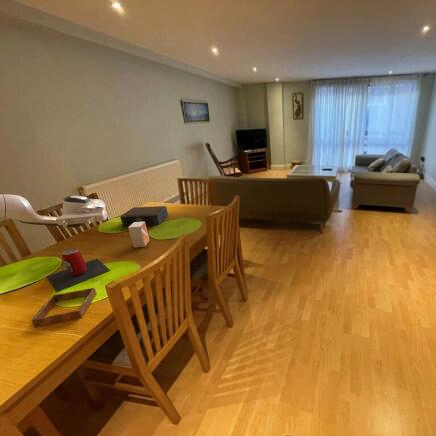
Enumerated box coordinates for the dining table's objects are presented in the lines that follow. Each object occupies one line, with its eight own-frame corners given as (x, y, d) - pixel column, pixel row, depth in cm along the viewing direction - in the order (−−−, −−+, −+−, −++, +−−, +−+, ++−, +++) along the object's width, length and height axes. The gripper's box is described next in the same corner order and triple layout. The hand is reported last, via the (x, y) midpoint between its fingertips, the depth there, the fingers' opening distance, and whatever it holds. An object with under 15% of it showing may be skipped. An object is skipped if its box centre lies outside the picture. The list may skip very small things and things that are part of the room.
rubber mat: (57, 292, 104) (56, 291, 104) (47, 277, 114) (46, 276, 114) (110, 270, 119) (109, 269, 119) (97, 259, 129) (96, 258, 128)
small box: (145, 246, 141) (139, 226, 136) (133, 247, 140) (127, 227, 135) (150, 240, 148) (145, 221, 143) (138, 241, 147) (133, 222, 142)
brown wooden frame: (34, 327, 86) (31, 320, 85) (56, 301, 99) (53, 294, 97) (82, 317, 90) (79, 310, 89) (96, 293, 103) (94, 287, 102)
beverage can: (69, 272, 116) (60, 251, 112) (87, 267, 121) (79, 246, 116) (70, 278, 112) (60, 256, 107) (88, 273, 116) (79, 251, 111)
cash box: (121, 227, 167) (118, 216, 164) (135, 216, 186) (132, 207, 183) (159, 225, 170) (156, 215, 167) (169, 214, 188) (167, 205, 186)
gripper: (62, 210, 126) (47, 220, 114) (107, 206, 132) (98, 215, 120) (66, 221, 129) (52, 232, 116) (111, 217, 135) (101, 227, 123)
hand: (75, 223), depth 118 cm, fingers open, 8 cm apart
